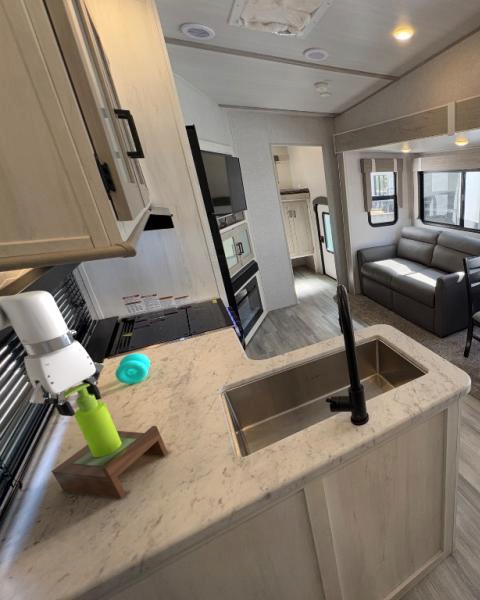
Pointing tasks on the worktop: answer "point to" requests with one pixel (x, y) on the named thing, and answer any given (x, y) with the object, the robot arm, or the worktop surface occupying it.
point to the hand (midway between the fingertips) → (82, 406)
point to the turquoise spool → (132, 368)
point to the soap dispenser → (95, 422)
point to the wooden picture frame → (107, 464)
